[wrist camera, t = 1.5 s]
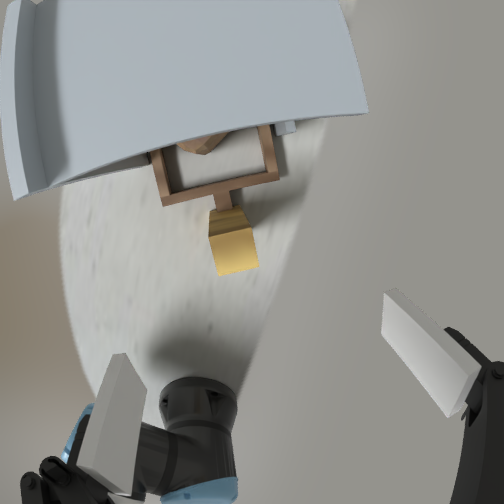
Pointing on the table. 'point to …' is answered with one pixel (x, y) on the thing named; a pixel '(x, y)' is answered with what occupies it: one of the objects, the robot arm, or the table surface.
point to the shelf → (161, 78)
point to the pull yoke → (224, 208)
